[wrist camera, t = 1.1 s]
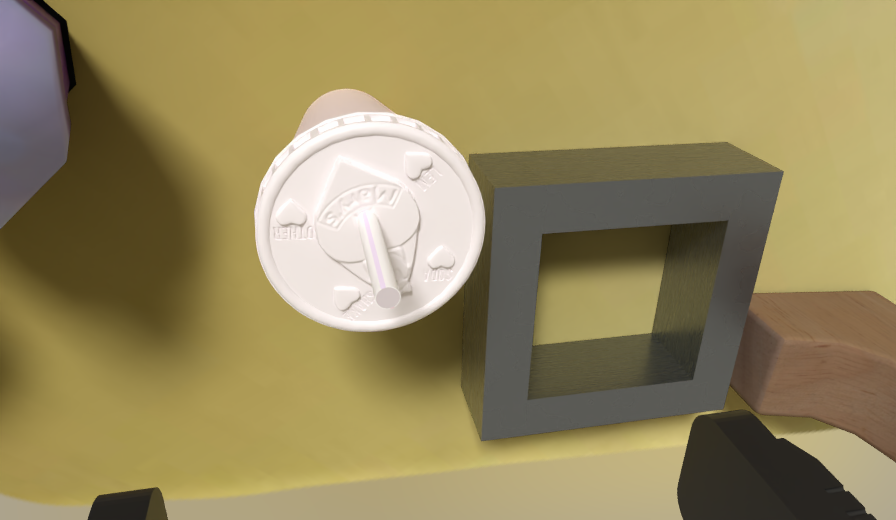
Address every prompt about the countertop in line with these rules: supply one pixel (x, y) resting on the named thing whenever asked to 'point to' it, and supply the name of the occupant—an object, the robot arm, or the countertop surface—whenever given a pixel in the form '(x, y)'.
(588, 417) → the frame
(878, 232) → the countertop surface
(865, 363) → the wooden block
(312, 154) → the smoothie
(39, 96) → the potion bottle
